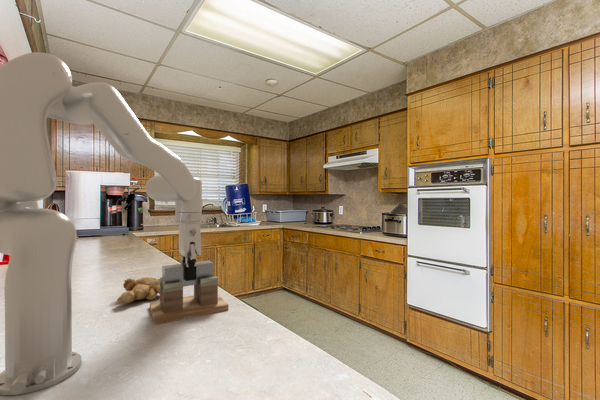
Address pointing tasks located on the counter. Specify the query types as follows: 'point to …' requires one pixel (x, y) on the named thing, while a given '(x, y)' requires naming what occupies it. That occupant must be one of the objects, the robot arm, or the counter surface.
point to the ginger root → (140, 289)
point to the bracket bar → (178, 273)
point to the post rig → (187, 301)
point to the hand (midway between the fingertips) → (188, 277)
